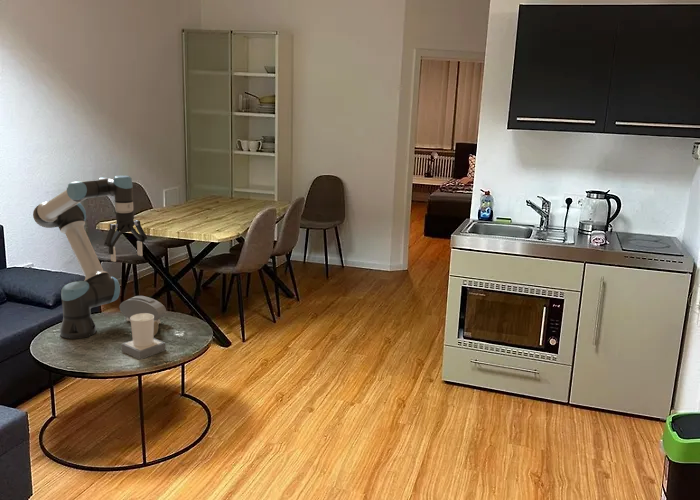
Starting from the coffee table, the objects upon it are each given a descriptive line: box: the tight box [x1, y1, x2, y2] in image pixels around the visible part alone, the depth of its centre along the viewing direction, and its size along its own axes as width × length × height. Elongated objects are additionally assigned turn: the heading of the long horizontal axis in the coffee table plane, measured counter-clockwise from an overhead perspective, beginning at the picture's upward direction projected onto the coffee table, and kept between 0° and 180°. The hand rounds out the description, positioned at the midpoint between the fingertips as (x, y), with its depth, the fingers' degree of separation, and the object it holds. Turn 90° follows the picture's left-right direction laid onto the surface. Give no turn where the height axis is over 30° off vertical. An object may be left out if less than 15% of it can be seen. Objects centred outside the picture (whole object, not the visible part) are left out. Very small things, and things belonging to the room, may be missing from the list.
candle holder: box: [129, 313, 155, 347], centre depth 267 cm, size 10×10×12 cm
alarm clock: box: [119, 295, 167, 325], centre depth 301 cm, size 23×6×13 cm, turn 69°
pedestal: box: [120, 337, 167, 360], centre depth 269 cm, size 13×13×4 cm
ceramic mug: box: [154, 321, 159, 336], centre depth 287 cm, size 11×8×8 cm
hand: (127, 258), depth 276 cm, fingers open, 13 cm apart
